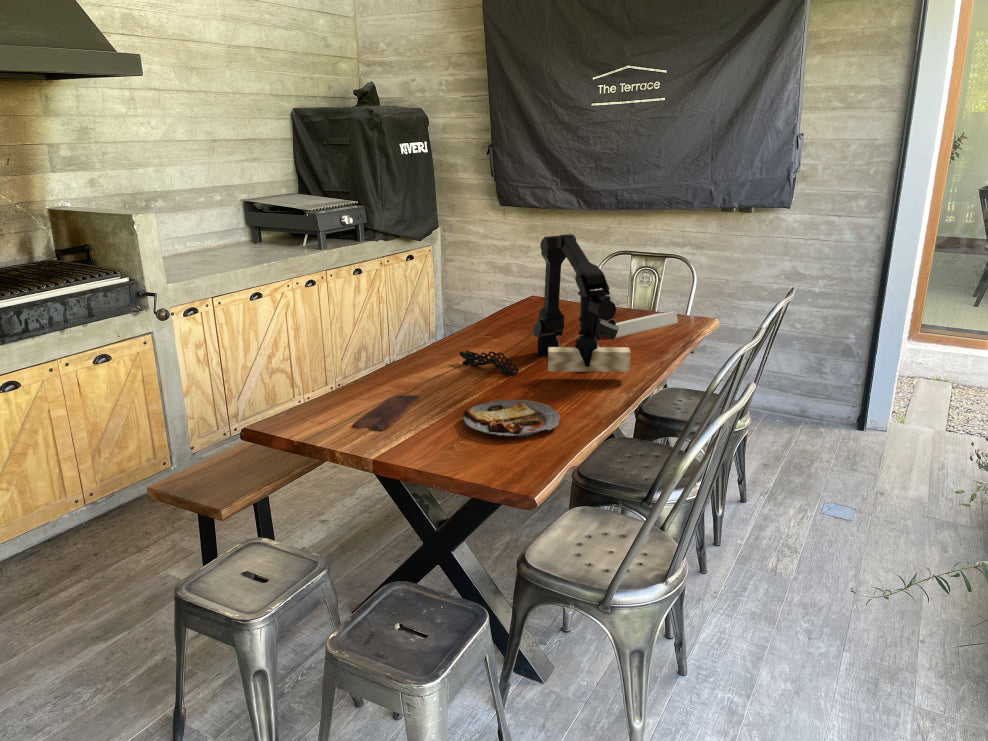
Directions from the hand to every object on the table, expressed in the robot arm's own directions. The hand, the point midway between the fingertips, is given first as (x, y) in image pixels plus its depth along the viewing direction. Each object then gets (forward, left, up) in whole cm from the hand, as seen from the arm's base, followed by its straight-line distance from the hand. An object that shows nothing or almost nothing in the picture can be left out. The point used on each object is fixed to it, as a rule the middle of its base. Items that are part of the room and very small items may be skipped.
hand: (588, 363), depth 224 cm
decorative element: (-32, +5, -5) cm, 33 cm away
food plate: (-16, -38, -5) cm, 42 cm away
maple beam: (0, 0, -2) cm, 2 cm away
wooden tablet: (-50, -36, -6) cm, 62 cm away
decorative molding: (+11, +62, -6) cm, 64 cm away
